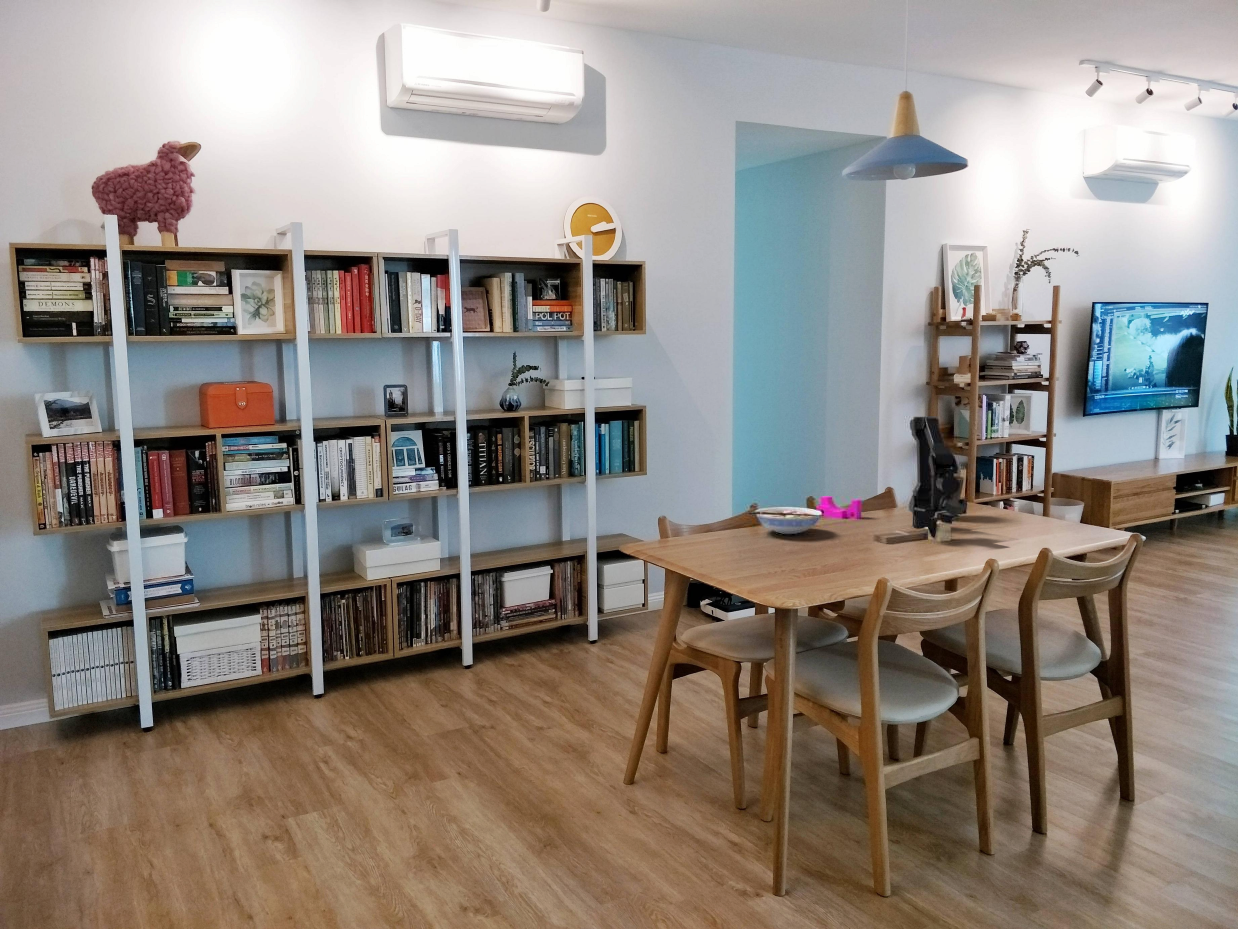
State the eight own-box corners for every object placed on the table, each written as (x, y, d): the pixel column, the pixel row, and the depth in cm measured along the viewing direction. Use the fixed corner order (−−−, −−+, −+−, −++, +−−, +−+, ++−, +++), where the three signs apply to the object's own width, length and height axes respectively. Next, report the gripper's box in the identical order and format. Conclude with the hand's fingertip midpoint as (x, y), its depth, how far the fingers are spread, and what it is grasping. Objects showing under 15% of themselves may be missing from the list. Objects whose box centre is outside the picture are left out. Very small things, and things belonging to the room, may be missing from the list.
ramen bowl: (827, 528, 342) (827, 505, 341) (822, 541, 320) (823, 516, 319) (756, 526, 349) (756, 503, 348) (747, 537, 327) (747, 513, 326)
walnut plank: (872, 540, 320) (873, 534, 320) (934, 532, 334) (934, 526, 333) (886, 543, 315) (886, 537, 315) (947, 535, 328) (947, 528, 328)
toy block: (817, 517, 366) (817, 497, 366) (825, 515, 371) (825, 495, 370) (853, 521, 357) (853, 501, 356) (861, 519, 361) (861, 499, 360)
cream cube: (925, 538, 323) (925, 522, 322) (936, 537, 325) (936, 521, 325) (939, 541, 317) (940, 525, 317) (950, 540, 320) (951, 523, 319)
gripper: (939, 495, 307) (937, 543, 309) (980, 490, 316) (978, 537, 318) (913, 490, 317) (911, 537, 319) (953, 486, 326) (952, 532, 328)
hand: (939, 536), depth 321 cm, fingers closed on cream cube, 5 cm apart
